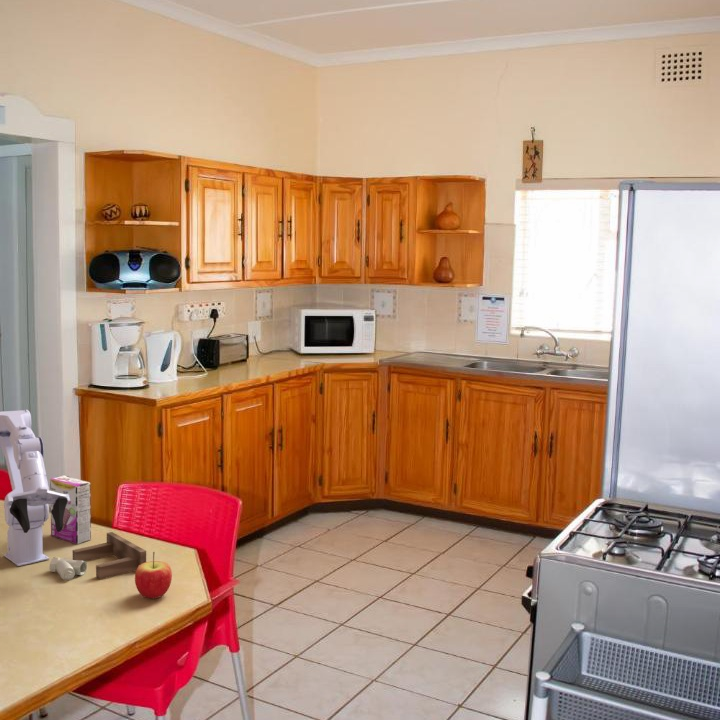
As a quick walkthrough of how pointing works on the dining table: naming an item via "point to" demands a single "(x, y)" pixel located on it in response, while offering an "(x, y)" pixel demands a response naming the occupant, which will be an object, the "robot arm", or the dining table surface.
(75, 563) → the pipe fitting
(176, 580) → the dining table surface
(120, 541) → the fitting jig
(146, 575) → the apple
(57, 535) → the candy bar box
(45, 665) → the dining table surface
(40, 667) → the dining table surface
